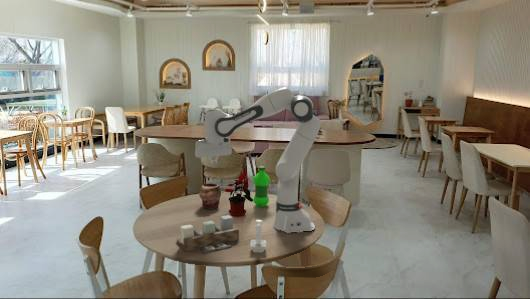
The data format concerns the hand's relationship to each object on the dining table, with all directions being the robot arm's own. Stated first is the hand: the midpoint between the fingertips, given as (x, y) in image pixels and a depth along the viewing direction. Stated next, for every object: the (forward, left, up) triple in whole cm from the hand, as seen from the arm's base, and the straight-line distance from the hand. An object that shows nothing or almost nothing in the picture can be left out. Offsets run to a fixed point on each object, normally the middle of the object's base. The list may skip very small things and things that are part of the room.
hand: (213, 164), depth 216 cm
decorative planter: (+5, -27, -33) cm, 43 cm away
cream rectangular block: (+9, +31, -31) cm, 45 cm away
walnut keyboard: (-1, +28, -33) cm, 43 cm away
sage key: (0, +26, -31) cm, 41 cm away
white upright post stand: (-25, +35, -33) cm, 54 cm away
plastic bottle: (-26, -29, -33) cm, 51 cm away
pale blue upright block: (-9, +18, -31) cm, 37 cm away
